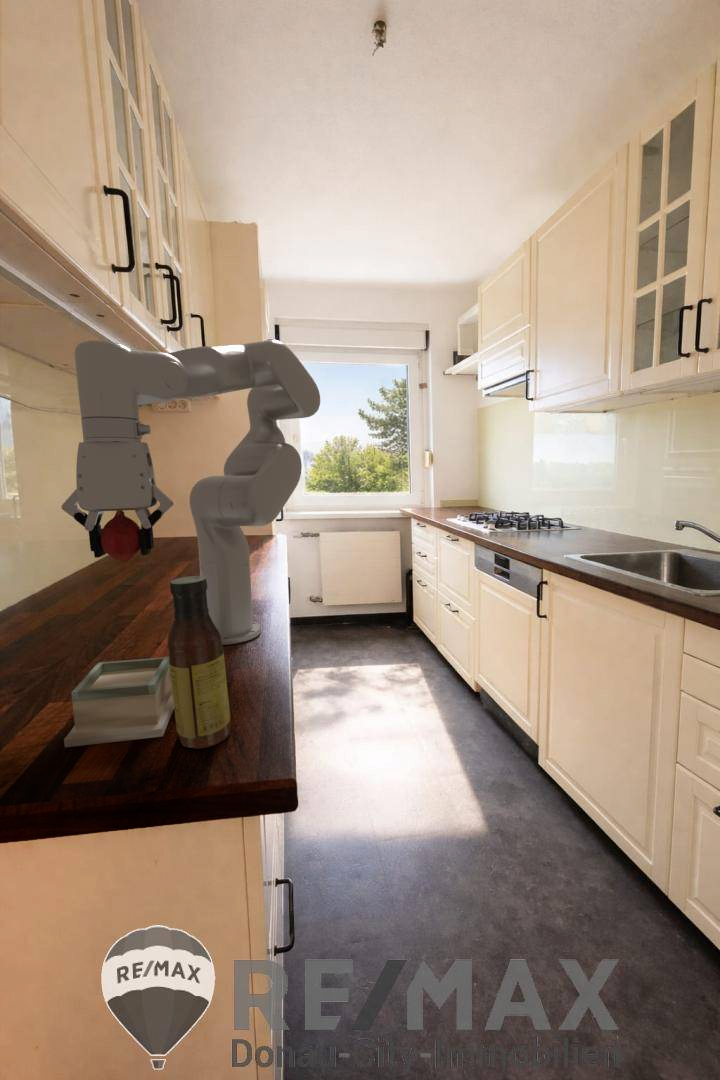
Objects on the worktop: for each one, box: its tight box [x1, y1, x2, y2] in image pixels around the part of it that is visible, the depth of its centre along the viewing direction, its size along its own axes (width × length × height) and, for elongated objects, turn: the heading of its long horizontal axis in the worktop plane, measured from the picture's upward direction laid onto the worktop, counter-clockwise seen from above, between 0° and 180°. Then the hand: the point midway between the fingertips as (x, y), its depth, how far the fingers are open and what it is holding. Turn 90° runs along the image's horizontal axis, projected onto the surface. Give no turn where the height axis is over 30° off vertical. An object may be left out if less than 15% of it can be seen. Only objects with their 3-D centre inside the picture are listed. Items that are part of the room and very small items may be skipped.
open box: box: [63, 656, 175, 748], centre depth 63 cm, size 12×11×6 cm
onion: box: [101, 510, 141, 564], centre depth 72 cm, size 6×6×8 cm
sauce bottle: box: [166, 575, 231, 750], centre depth 57 cm, size 7×6×20 cm
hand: (123, 553), depth 72 cm, fingers closed on onion, 5 cm apart
